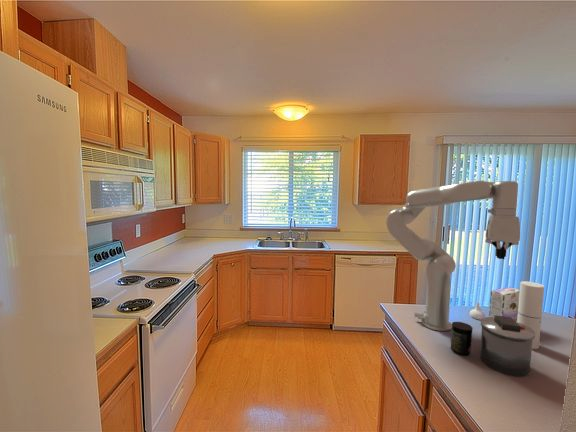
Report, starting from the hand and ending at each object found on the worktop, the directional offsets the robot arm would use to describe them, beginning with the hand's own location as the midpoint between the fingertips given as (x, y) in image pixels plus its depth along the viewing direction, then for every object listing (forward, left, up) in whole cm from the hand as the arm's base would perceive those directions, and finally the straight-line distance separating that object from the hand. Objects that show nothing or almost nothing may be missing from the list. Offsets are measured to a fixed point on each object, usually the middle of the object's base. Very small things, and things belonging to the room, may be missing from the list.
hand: (500, 258), depth 109 cm
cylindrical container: (+12, +3, -35) cm, 37 cm away
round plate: (-2, -16, -22) cm, 27 cm away
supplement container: (-15, -13, -35) cm, 40 cm away
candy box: (+10, +20, -35) cm, 42 cm away
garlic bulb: (0, +24, -35) cm, 43 cm away
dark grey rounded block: (-2, -16, -35) cm, 39 cm away
